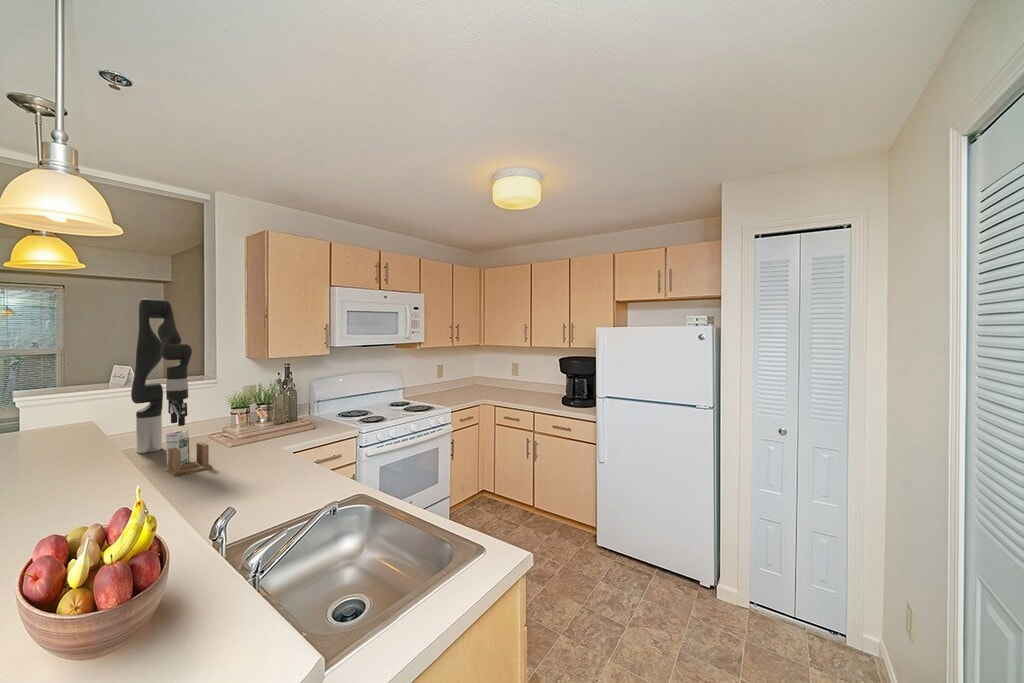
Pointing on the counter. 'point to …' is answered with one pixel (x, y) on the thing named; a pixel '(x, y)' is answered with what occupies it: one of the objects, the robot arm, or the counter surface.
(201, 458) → the slot block
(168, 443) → the syrup box
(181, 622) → the counter surface
